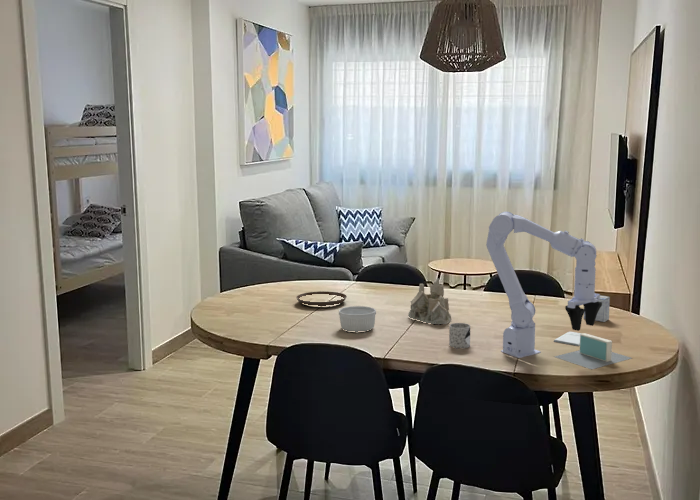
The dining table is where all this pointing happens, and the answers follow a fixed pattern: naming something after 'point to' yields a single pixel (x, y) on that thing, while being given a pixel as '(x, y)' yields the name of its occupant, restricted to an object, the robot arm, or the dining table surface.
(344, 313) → the ramekin
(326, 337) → the dining table surface
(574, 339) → the external hard drive
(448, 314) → the ceramic cottage
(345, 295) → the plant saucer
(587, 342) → the slab
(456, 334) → the mug
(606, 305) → the medicine box
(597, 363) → the mat
